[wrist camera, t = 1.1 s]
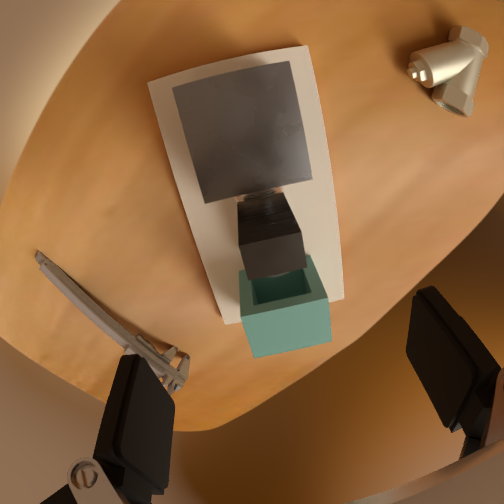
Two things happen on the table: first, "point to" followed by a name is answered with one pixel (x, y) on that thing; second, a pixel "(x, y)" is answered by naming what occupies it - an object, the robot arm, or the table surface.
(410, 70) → the pipe fitting
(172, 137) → the base board
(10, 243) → the table surface
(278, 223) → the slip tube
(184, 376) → the caliper
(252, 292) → the socket block
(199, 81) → the dark grey block
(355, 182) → the table surface
